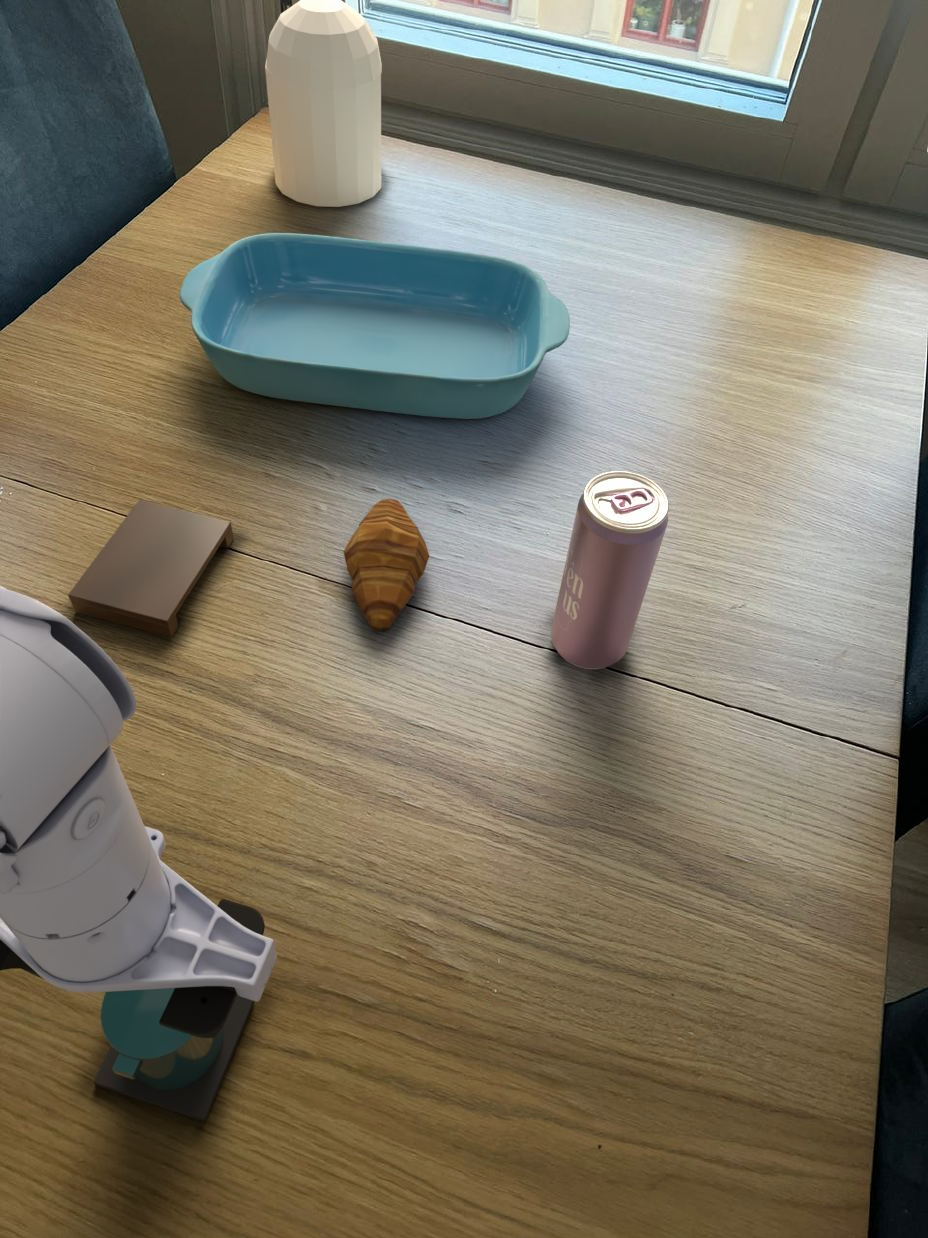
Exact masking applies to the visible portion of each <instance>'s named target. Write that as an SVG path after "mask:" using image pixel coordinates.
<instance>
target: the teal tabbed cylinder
mask: <svg viewBox="0 0 928 1238" xmlns="http://www.w3.org/2000/svg"><path fill="white" fill-rule="evenodd" d="M174 989H175V988H164V989H146V990H129V991H111V992H104V993H105V994H104V995H103V1000H102V1003H101V1008H100V1024H101V1028H102V1032H103V1035H104V1038H106V1040H107V1042H108V1043H109V1044H110V1047H111V1046H112V1047H113V1048H114V1050H115V1051H116V1052H117V1053H118V1055H119V1056H118V1058H117V1060H116V1062H115V1064H114V1066H113V1068H112V1070H113V1071H114V1072H115V1074H118V1075H121V1076H124V1077H127V1078H130V1079H135V1078H136V1077H137V1079H139V1080H140V1081H141V1082H142V1083H144V1084H145V1085H147V1086H149V1087H151V1088H155V1089H159V1090H174V1089H179V1088H182V1087H185V1086H187V1085H189V1084H191V1083H193V1082H195V1081H196V1080H198V1079H199V1078H200V1077H202V1076H203V1075H204V1074H205V1073H206V1072H207V1071H208V1070H209V1068H210V1067H211V1066H212V1065H213V1063H214V1062H215V1060H216V1058H217V1056H218V1054H219V1052H220V1049H221V1046H222V1042H223V1035H224V1029H223V1027H222V1029H221V1030H220V1032H219V1033H218V1034H217V1036H216V1037H214V1038H200V1037H195V1036H192V1035H189V1034H186V1033H183V1032H180V1031H177V1030H174V1029H171V1028H168V1027H165V1026H161V1025H160V1023H159V1021H160V1019H161V1016H162V1014H163V1012H164V1010H165V1008H166V1006H167V1004H168V1002H169V1000H170V997H171V995H172V993H173V991H174Z"/></svg>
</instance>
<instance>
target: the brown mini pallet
mask: <svg viewBox="0 0 928 1238" xmlns="http://www.w3.org/2000/svg"><path fill="white" fill-rule="evenodd" d="M232 527H233V525H232V522H231V521H230V520H226V519H222V518H218V517H214V516H209V515H206V514H202V513H197V512H193V511H189V510H186V509H181V508H177V507H174V506H169V505H165V504H161V503H157V502H153V501H149V500H145V499H141V498H140V499H138V501H137V503H136V504H135V505H134V506H133V508H132V509H131V510H130V512H129V513H128V514H127V516H126V517H125V518H124V520H123V521H122V523H120V525H119V526H118V528H117V529H116V530H115V532H113V534H112V535H111V537H110V538H109V540H108V541H107V542H106V543H105V545H104V546H103V548H102V549H101V550H100V551H99V553H98V554H97V556H96V557H95V558H94V560H93V561H92V562H91V564H89V566H88V567H87V569H86V570H85V571H84V573H83V574H82V575H81V577H80V578H79V579H78V581H77V582H76V583H75V585H74V586H73V587H72V589H71V590H70V591H69V593H68V594H67V596H68V598H69V601H70V603H71V606H72V608H73V610H74V611H73V612H75V613H76V614H77V613H78V614H82V615H85V616H88V617H93V618H96V619H99V620H104V621H107V622H108V621H109V622H112V623H115V624H120V625H123V626H126V627H130V628H134V629H138V630H141V631H145V632H150V633H152V634H156V635H160V636H164V637H168V638H173V637H174V635H175V634H176V632H177V630H178V629H179V623H178V618H177V614H178V612H179V610H180V609H181V607H182V606H183V604H184V602H185V601H186V600H187V598H188V596H189V595H190V593H191V592H192V590H193V588H194V587H195V586H196V584H197V582H198V581H199V579H200V577H201V576H202V574H203V572H204V571H205V570H206V568H207V567H208V565H209V563H210V562H211V560H212V558H213V557H214V556H215V554H216V552H217V551H218V549H219V547H220V548H224V549H229V547H230V546H231V544H232V543H233V541H234V533H233V528H232Z"/></svg>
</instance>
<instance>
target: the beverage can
mask: <svg viewBox="0 0 928 1238" xmlns="http://www.w3.org/2000/svg"><path fill="white" fill-rule="evenodd" d="M669 502H670V501H669V498H668V496H667V494H666V493H665V491H664V490H663V489H662V487H660V486H659V485H658V484H657V483H656V482H655V481H653V480H652V479H651V478H649V477H646V476H645V475H641V474H639V473H635V472H631V471H623V470H613V471H608V472H607V471H606V472H603V473H601V474H598V475H596V476H594V477H593V478H592V479H590V480H589V482H587V484H586V485H585V487H584V489H583V493H582V494H581V495H580V498H579V499H578V502H577V506H576V511H575V517H574V521H573V526H572V530H571V535H570V539H569V545H568V549H567V554H566V560H565V563H564V567H563V571H562V577H561V582H560V587H559V591H558V596H557V600H556V604H555V605H556V606H555V610H554V614H553V619H552V623H551V629H550V638H551V643H552V644H553V647H554V648H555V650H556V652H557V653H558V654H559V655H560V656H561V658H563V659H564V660H565V661H566V662H567V663H569V664H570V665H572V666H575V667H577V668H581V669H584V670H602V669H605V668H608V667H611V666H613V665H614V664H616V663H618V662H620V660H622V659H623V657H624V656H625V655H626V653H627V651H628V649H629V645H630V642H631V639H632V636H633V633H634V630H635V626H636V624H637V621H638V617H639V614H640V612H641V608H642V605H643V602H644V599H645V595H646V592H647V589H648V586H649V583H650V580H651V577H652V574H653V571H654V568H655V564H656V562H657V558H658V555H659V552H660V549H661V546H662V543H663V540H664V536H665V534H666V530H667V527H668V523H669V512H670V511H669V510H670V503H669Z"/></svg>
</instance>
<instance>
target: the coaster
mask: <svg viewBox="0 0 928 1238" xmlns="http://www.w3.org/2000/svg"><path fill="white" fill-rule="evenodd" d="M254 1005H255V1001H253V1000H250V999H247V998H243V997H240V996H239V995H237V997H236V999H235V1001H234V1004H233V1006H232V1008H231V1011H230V1013H229V1015H228V1018H227V1020H226V1022H225V1024H224V1026H223V1029H224V1035H223V1042H222V1046H221V1049H220V1052H219V1054H218V1056H217V1058H216V1060H215V1062H214V1063H213V1065H212V1066H211V1067H210V1068H209V1070H208V1071H207V1072H206V1073H205V1074H204V1075H203V1076H202V1077H200V1078H199V1079H198V1080H196V1081H195V1082H193V1083H191V1084H189V1085H187V1086H185V1087H182V1088H179V1089H174V1090H159V1089H155V1088H151V1087H149V1086H147V1085H145V1084H144V1083H142V1082H141V1081H140V1080H139V1079H137V1077H136V1078H135V1079H130V1078H127V1077H124V1076H121V1075H118V1074H115V1072H114V1071H113V1070H112V1068H113V1066H114V1064H115V1062H116V1060H117V1058H118V1056H119V1055H118V1053H117V1052H116V1051H115V1050H114V1048H113V1047H112V1046H111V1045H110V1047H109V1050H108V1051H107V1054H106V1055H105V1058H104V1059H103V1062H102V1063H101V1066H100V1067H99V1070H98V1072H97V1074H96V1075H95V1078H94V1080H93V1082H92V1083H93V1084H94V1085H95V1086H97V1087H100V1088H103V1089H107V1090H109V1091H112V1092H115V1093H117V1094H120V1095H124V1096H127V1097H129V1098H132V1099H135V1100H139V1101H142V1102H144V1103H148V1104H150V1105H154V1106H156V1107H159V1108H162V1109H166V1110H168V1111H171V1112H175V1113H177V1114H180V1115H183V1116H186V1117H189V1118H192V1119H195V1120H198V1121H202V1122H206V1121H207V1119H208V1116H209V1114H210V1111H211V1110H212V1109H211V1108H212V1106H213V1105H214V1101H215V1099H216V1097H217V1094H218V1091H219V1090H220V1087H221V1084H222V1083H223V1080H224V1077H225V1075H226V1072H227V1070H228V1068H229V1065H230V1062H231V1060H232V1058H233V1056H234V1053H235V1050H236V1048H237V1046H238V1043H239V1042H240V1040H241V1039H240V1038H241V1037H242V1034H243V1031H244V1030H245V1026H246V1024H247V1021H248V1020H249V1017H250V1014H251V1013H252V1009H253V1006H254Z"/></svg>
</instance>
